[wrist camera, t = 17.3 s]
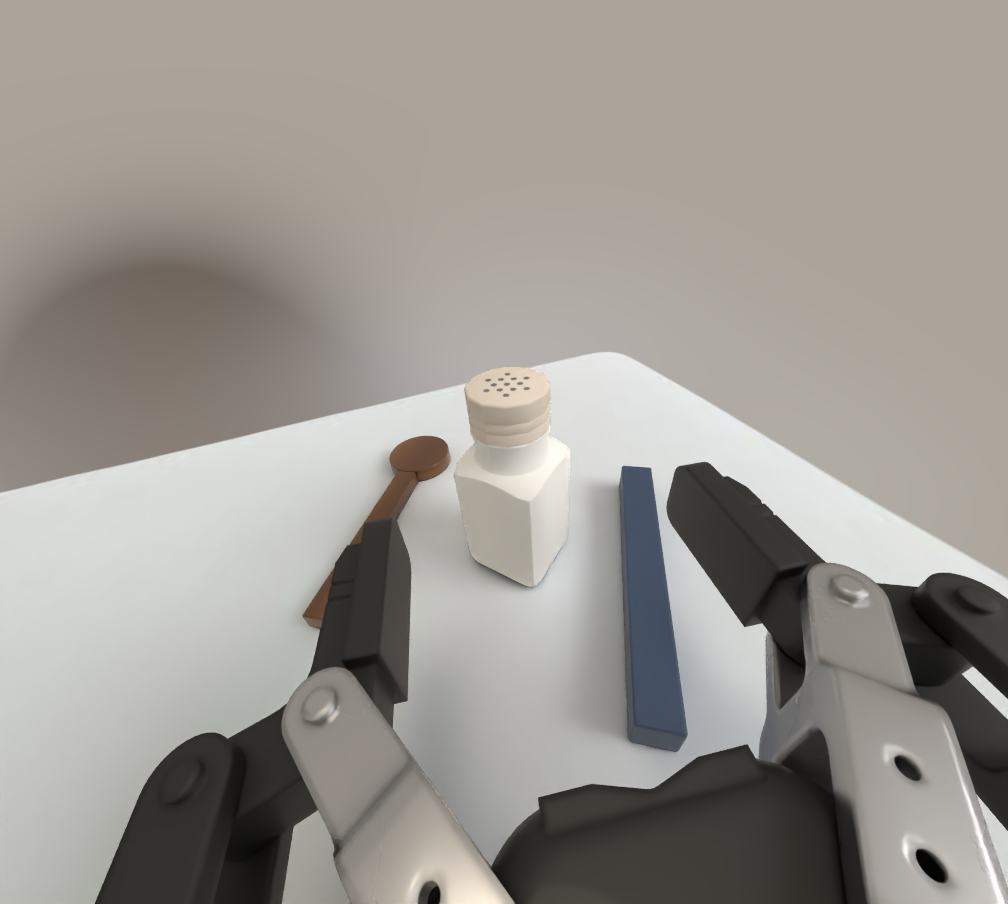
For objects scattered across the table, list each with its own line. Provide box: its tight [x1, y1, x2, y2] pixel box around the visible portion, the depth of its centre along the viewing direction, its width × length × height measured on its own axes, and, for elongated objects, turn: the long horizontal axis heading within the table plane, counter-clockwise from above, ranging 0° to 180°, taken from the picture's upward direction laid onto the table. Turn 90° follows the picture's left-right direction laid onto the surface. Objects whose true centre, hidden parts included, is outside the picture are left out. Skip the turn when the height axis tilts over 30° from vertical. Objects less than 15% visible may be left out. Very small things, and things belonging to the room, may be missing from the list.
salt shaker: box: [454, 367, 570, 587], centre depth 17 cm, size 4×4×10 cm
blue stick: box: [619, 466, 688, 752], centre depth 17 cm, size 2×13×2 cm, turn 168°
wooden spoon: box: [303, 436, 450, 628], centre depth 22 cm, size 4×14×1 cm, turn 168°
